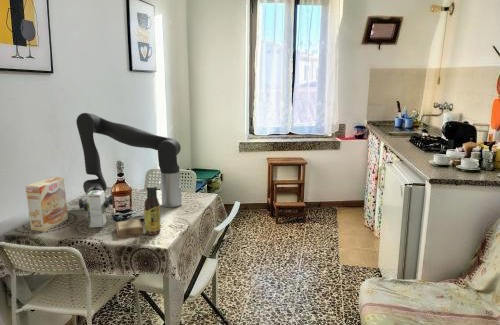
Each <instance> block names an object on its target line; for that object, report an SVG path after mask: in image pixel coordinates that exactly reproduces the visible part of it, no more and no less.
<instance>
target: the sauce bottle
mask: <svg viewBox="0 0 500 325" xmlns="http://www.w3.org/2000/svg"><path fill="white" fill-rule="evenodd" d="M157 190H158V186H157V185H156V184H155V185H154V184H152V185H147V186H146V199H145V201H144V205H143V206H144V230H145V231H144V232H145V234H146V235H147V236H153V235H154V236H155V235H158V234H159V233H160V232H161V228H162V226H161V224H162V223H161V205H160V203H159V198H158V194H157V192H158V191H157Z"/></svg>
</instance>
